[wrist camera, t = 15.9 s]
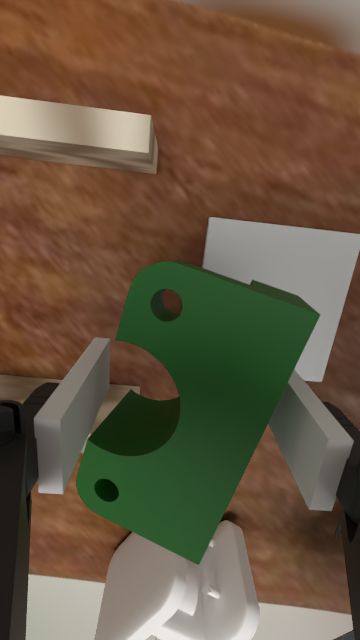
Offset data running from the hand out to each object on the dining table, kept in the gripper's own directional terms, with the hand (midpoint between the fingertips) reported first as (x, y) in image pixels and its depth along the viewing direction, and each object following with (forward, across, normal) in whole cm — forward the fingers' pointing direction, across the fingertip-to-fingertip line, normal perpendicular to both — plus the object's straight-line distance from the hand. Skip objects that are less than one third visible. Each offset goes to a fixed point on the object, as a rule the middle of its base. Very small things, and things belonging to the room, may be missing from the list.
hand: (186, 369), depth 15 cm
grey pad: (+15, -9, 0) cm, 17 cm away
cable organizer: (+15, -2, +31) cm, 35 cm away
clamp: (+1, 0, 0) cm, 1 cm away
